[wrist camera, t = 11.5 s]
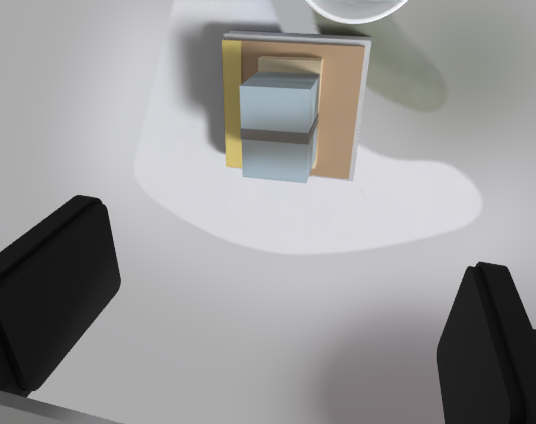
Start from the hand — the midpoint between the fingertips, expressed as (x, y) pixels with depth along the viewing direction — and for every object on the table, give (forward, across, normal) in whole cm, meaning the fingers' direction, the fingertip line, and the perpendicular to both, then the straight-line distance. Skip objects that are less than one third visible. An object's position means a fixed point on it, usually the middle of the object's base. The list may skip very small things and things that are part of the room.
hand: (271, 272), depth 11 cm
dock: (+29, +4, +4) cm, 30 cm away
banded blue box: (+26, +4, +4) cm, 27 cm away
